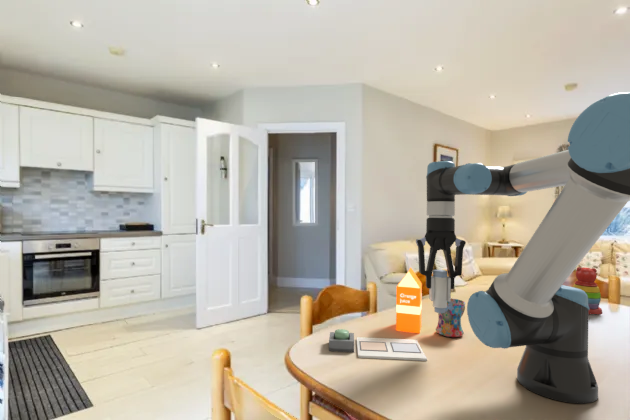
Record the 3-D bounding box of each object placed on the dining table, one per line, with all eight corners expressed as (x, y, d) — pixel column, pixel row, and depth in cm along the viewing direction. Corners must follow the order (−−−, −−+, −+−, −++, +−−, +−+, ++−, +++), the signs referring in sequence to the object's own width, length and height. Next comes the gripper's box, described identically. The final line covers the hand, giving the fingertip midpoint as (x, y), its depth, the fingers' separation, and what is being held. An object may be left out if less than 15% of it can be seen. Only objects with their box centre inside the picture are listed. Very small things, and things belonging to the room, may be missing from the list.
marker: (448, 313, 99) (449, 272, 99) (434, 313, 99) (434, 271, 99) (444, 310, 103) (445, 269, 103) (430, 309, 103) (431, 269, 103)
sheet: (426, 360, 94) (426, 358, 94) (358, 357, 96) (358, 354, 96) (416, 341, 108) (416, 339, 108) (356, 339, 110) (356, 336, 110)
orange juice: (395, 330, 118) (396, 270, 118) (398, 322, 126) (399, 266, 127) (420, 333, 116) (420, 271, 116) (422, 325, 124) (422, 267, 124)
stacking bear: (601, 310, 146) (601, 267, 146) (604, 316, 137) (605, 270, 137) (568, 306, 151) (568, 264, 151) (570, 312, 143) (570, 267, 143)
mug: (452, 341, 109) (452, 306, 109) (428, 332, 117) (428, 299, 117) (476, 334, 115) (476, 301, 115) (452, 326, 123) (452, 295, 123)
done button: (348, 341, 101) (348, 334, 101) (334, 340, 101) (334, 333, 101) (348, 336, 105) (348, 329, 105) (335, 335, 105) (335, 328, 105)
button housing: (354, 352, 99) (354, 341, 99) (328, 351, 100) (329, 340, 100) (353, 343, 106) (353, 333, 106) (330, 342, 107) (330, 332, 107)
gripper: (466, 217, 104) (466, 297, 104) (407, 216, 105) (407, 296, 105) (476, 217, 96) (475, 304, 96) (412, 216, 98) (411, 302, 98)
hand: (439, 299), depth 101 cm, fingers closed on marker, 4 cm apart
